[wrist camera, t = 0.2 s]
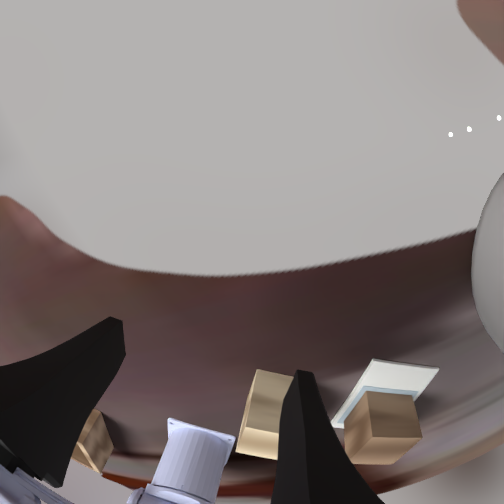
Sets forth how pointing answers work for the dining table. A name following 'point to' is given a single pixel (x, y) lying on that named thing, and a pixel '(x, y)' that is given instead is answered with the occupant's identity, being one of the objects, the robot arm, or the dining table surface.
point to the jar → (490, 264)
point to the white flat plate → (387, 383)
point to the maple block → (263, 415)
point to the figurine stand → (93, 443)
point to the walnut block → (381, 428)
